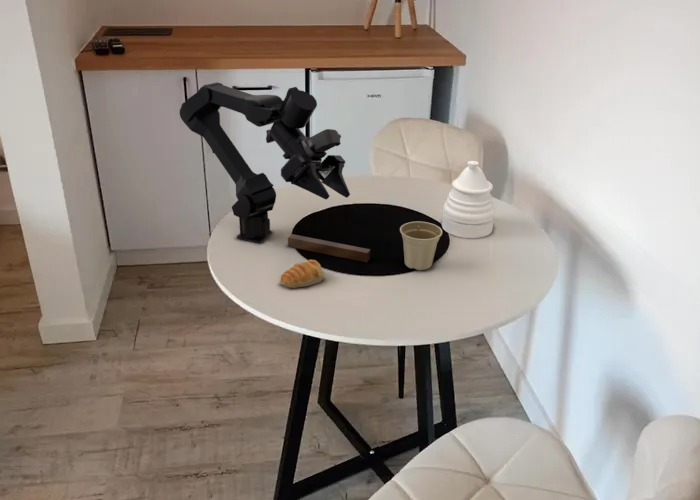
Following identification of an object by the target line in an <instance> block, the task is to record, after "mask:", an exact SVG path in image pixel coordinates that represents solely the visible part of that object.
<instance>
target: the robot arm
mask: <svg viewBox="0 0 700 500" xmlns="http://www.w3.org/2000/svg"><path fill="white" fill-rule="evenodd" d="M222 107H223V108H225V109H227V110H230V111H234V112H236V113H239V114H242V115H243V116H244V117H245V120H246V121H248V122H249V123H251V124H252V125H254V126H256V127H257V128H258V127H259V128H261V127H265V126H269V125H271V124H272V125H271V127H270V129H267V130H266V137H265V142H266V144H269V143H273V142H275V143H276V144H277V146H278V147H279V148H280V149H281V151H282V152H283V154H282V157H283V158H284V159H285V160H287V161H286V162H285V164H284V165H283V166H282V167H281V168H280V177H281V178H282V179H283V180H284V181H285V182H286V183H290V184H291V185H295V186H296V187H299V188H301V189H302V190H305V191H308V192H309V193H312V194H313V195H316V196H318V197H319V198H322V199H324V200H328V199H329V198H330V194H329V192H328V191H327V188H330V189H331V190H333V191H334V192H336V193H338V194H339V195H341V196H342V197H344V198H349V197H350V195H351V192H350V190H349V188H348V186H347V183H346V181H345V179H344V174H343V169H344V168H345V164H346V160H345V159H344V158H343V156H341V155H340V154H339V155H338V154H337V155H335V154H327V153H328V152H327V151H329V150H330V149H332V148H334V147H338V146H340V145H341V138H342V135H341V133H339V132H338V130H336V129H332V128H327V129H323V130H321V131H319V132H317V133H315V134H314V135H312V136H310V137H309V136H306V134H304V132H303V131H302V130H301V129H303V128H305V127H306V125H307V124H308V122H309V121H310V118H311V117H312V115H313V114H314V112H315V110H316V108H317V107H318V102H317V100H316V98H315V96H314V95H312V94H310V93H308V92H307V91H304V90H302V89H299V88H298V87H297V86H293V87H289V88H288V89H287V91H286V94H285V97H284V99H283V98H281V96H279V95H276V94H251V93H248V92H245V91H243V90H239V89H236V88H233V87H230V86H228V85H224V84H223V83H221V82H218V81H215V82H211V83H207V84H203V85H202V86H201V87H200V88H199V89H198V90H197V92H196V93H194V94H193V95H191V96H189V98H187V99H186V100H185V101H183V102H182V103H181V106H180V108H179V116H180V119H181V121H182V122H183V123H184V125H185V126H186V127H187V128H188V129H189V131H191V132H193V133H195V134H196V135H199V136H200V137H202V138H203V139H204V140H205V142H206V143H207V145H208V146H209V148H210V149H211V151H212V152H213V153H214V155H215V157H216V158H217V160H218V161H219V162H220V164H221V165H222V166H223V168H224V170H225V171H226V173H227V174H228V175H229V177H230V179H232V181H233V182H234V184H235V197H236V199H237V201H236V202H235V203H234V204H233V205H232V206H231V210H232V213H233V216H234V217H237V218H238V221H239V223H238V224H239V234H237V235H236V239H238V240H243V241H247V242H248V241H249V242H253V243H258V244H259V243H260V244H261V243H262V242H263V241H264V240H265V239H266V238H268V237H269V236H270V235H271V234H272V233H273V231H272V230H271V219H270V218H269V212H272V211H273V209H274V207H275V203H276V200H277V192H276V189H275V188H274V184H273V183H272V182H271V181H270V180H269V178H268V176H267V175H266V173H264V172H260V173H258V174H257V172H256V173H255V172H254V171H253V170H252V169H251V167H250V165H248V163H247V161H246V160H245V159H244V157H243V156H242V155H241V153H240V151H239V150H238V149H237V147H236V146H235V145H234V143H233V141H232V140H231V139H230V137H229V136H228V134H227V133H226V131H225V129H224V128H223V127H222V125H221V114H220V111H219V110H220V109H221V108H222ZM324 157H325V158H324ZM323 158H324V159H323ZM322 159H323V160H322ZM324 185H325V186H326V187H327V188H326V187H325V186H324Z"/></svg>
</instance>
